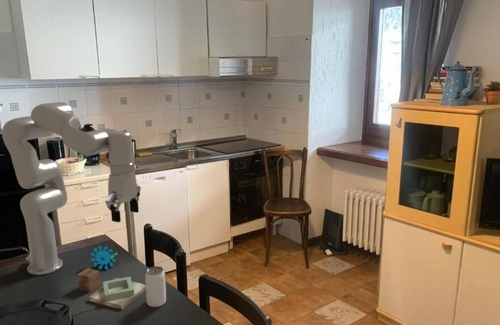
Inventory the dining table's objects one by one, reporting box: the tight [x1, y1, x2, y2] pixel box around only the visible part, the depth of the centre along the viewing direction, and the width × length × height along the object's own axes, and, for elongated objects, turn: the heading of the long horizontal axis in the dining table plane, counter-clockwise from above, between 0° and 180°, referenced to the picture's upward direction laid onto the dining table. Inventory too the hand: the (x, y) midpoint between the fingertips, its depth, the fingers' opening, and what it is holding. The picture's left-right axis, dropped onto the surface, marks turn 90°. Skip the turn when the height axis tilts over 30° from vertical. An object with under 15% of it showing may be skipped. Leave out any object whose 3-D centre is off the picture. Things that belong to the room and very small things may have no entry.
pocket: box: [102, 276, 134, 301], centre depth 145 cm, size 10×10×2 cm
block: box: [77, 267, 101, 293], centre depth 149 cm, size 5×5×6 cm
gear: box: [89, 245, 118, 271], centre depth 166 cm, size 11×6×10 cm
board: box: [88, 277, 146, 310], centre depth 145 cm, size 14×14×2 cm
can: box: [144, 265, 167, 308], centre depth 139 cm, size 6×6×12 cm
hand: (125, 216), depth 142 cm, fingers open, 9 cm apart
